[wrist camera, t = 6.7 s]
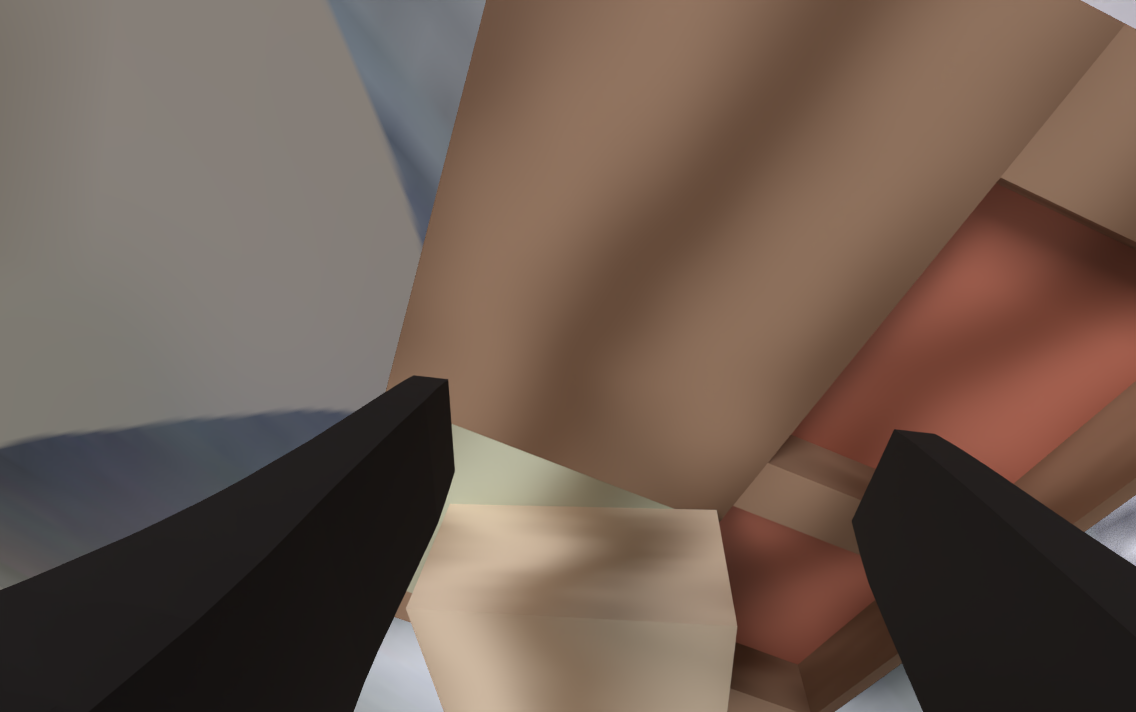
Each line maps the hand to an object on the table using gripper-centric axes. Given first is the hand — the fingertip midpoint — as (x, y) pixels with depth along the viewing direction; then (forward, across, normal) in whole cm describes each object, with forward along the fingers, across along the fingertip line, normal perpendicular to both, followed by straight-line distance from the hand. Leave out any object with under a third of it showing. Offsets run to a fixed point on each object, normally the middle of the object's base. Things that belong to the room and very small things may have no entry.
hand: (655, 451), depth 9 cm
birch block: (+6, +1, +11) cm, 12 cm away
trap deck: (+8, -3, +5) cm, 10 cm away
